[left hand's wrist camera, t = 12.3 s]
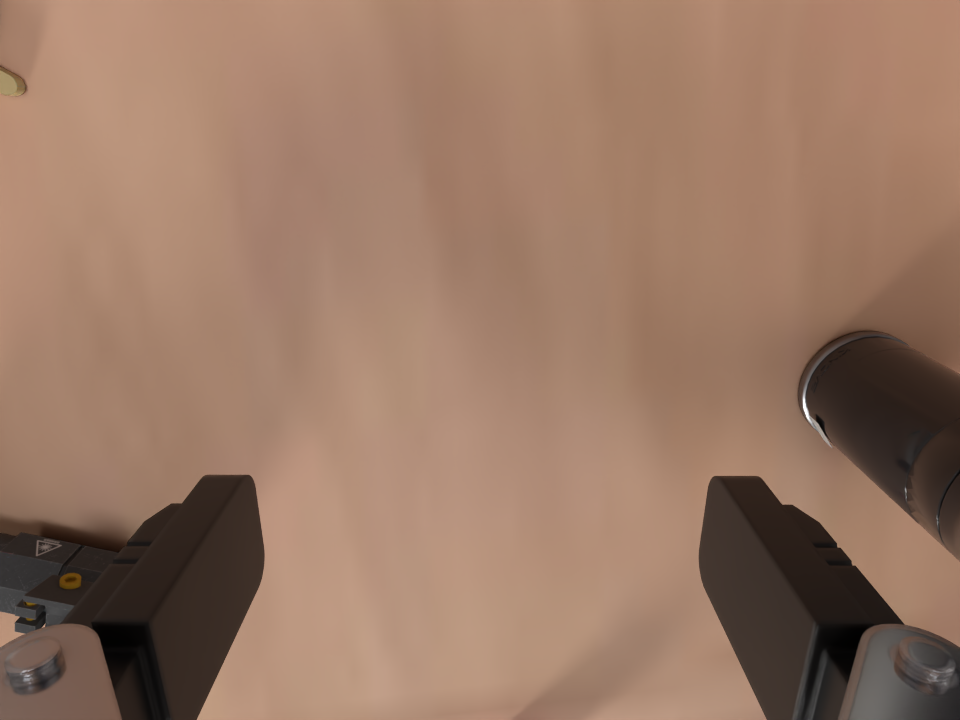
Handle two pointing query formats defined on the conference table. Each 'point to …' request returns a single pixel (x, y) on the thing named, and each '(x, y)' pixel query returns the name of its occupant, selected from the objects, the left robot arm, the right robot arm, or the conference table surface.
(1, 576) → the laser sight
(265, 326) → the conference table surface
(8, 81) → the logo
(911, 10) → the conference table surface
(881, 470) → the left robot arm
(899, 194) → the conference table surface
